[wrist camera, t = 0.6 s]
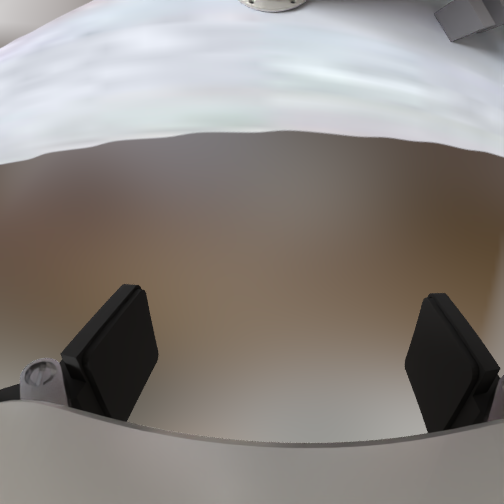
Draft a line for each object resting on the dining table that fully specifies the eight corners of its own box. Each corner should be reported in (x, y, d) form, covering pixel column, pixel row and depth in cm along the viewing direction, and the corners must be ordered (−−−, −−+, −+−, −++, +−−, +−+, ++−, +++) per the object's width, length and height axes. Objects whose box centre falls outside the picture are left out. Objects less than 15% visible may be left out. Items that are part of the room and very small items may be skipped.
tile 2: (476, 33, 29) (511, 20, 20) (460, 6, 28) (492, -11, 19) (486, 30, 29) (520, 18, 20) (470, 4, 27) (502, -13, 18)
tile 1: (450, 41, 31) (484, 27, 22) (433, 13, 30) (463, -7, 21) (461, 38, 31) (495, 24, 21) (445, 10, 29) (475, -9, 20)
